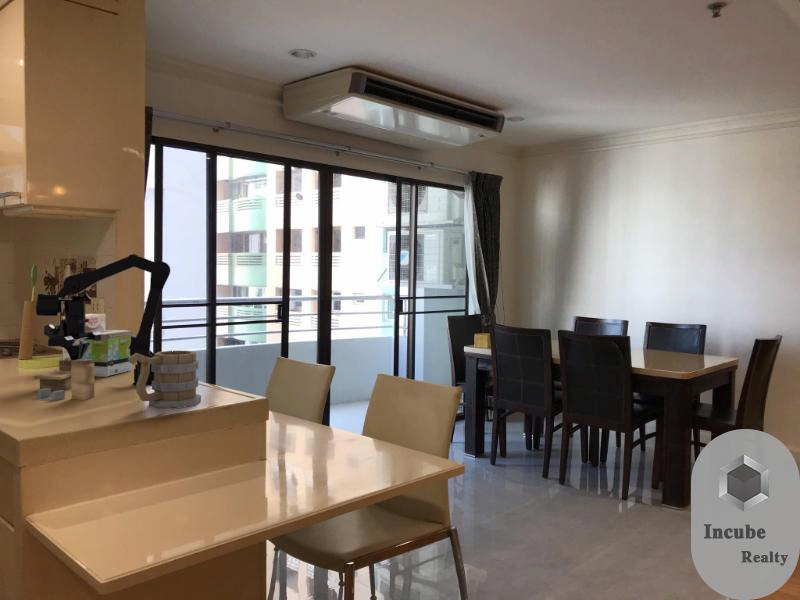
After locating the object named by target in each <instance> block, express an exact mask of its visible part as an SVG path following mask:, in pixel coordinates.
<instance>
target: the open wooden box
mask: <svg viewBox="0 0 800 600" xmlns="http://www.w3.org/2000/svg"><path fill="white" fill-rule="evenodd" d="M46 388H50V389H51V391H60V390H64V391H70V390H72V380H71V377H69V378H65V379H61V380H54V379H39V390H40V389H46Z"/></svg>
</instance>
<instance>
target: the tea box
mask: <svg viewBox="0 0 800 600" xmlns="http://www.w3.org/2000/svg"><path fill="white" fill-rule="evenodd" d="M98 332H99V333H100V334H101V340H98V341H95V340H86V343H91V344H90V345H89V346H88V348H87V350H86V351H85V353H84V355H83V357H82V359H94V377H103V378H107V377H109V376H113V375H117V374H122V373H127V371H128V372H131V371H132V370H133V364H131V363H130V362H129V360H128V358H129V357H131V356H130V349H128V348H129V346H130V344H131V336H132V335H133V330H124V329H122V330H121V329H106V330H104V331H98Z"/></svg>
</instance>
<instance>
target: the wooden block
mask: <svg viewBox="0 0 800 600" xmlns="http://www.w3.org/2000/svg"><path fill="white" fill-rule="evenodd" d="M71 380H72V389H71V400H80V401H81V400H82V401H84V400H88V399H92V398H95V376H94V359H78V360H72V361H71Z"/></svg>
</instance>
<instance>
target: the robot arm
mask: <svg viewBox="0 0 800 600" xmlns="http://www.w3.org/2000/svg"><path fill="white" fill-rule="evenodd" d="M132 268H136V269H137V268H138V269H140V270H142V271H145V272H147V273H150V281H149V282H150V283H149V284H150V286H149V292H148V294H147V299H146V304H145V306H144V309H143V310H144V311H143V315H142V319H141V323H140V326H139V330H138V332H137V334H136V335H135V334H132V336H131V344H130V346H129V348H128V349H130V356H132V355H134V354H135V353H139V354H141V355H143V356H146V357H149V358H153V357H154V354H155V353H154V352H153V350H151V342H152V340H151V339H152V330H153V326H154V322H155V319H156V314H157V311H158V307H159V304H160V303H159V302H160V299H161V294H162V291H163V289H164V287H165V285H166V283H167V281H168V279H169V276H170V275H171V267H170V265H169V264H168V262H165V261H162V260H161V261H156V262H155V261H154V260H153V261H152V260H151V259H147V258H144V257H141V256H139V255H138V254H136V253H132V254H129V255H128V256H126V257H124V258H121V259H119V260H116V261H114V262H111V263H109V264H107V265H104V266H102V267H99V268H97V269H94V270H90V271H86V272H79V273H77V274H72V275H68V276H67V277H66V278H65V279H64V280H63V287H62V288H61V289H60V290H59V291H58V293H57V294H52V293H51V294H48V293H47V294H46V293H38V294H37V299H36V305H35V312H36V316H37V317H59V315H60V314H62V313H63V312H64V316H65V319H63V318H62V319H61V320H60V324H59V325H53V324H47V325H44V326H43V327H44V328H43V335H44V336H46V337H47V346H48V347H61V348H63V347H64V348H65V349H66V350H67V352H68V354H69V356H70V359H71V360H78V359H82V357H83V355H84V353H85V351H86V350H87V348H88V346H89V345H90V344H91V343H86V340H95V341H98V340H101V334H100V333H99V332H98V331H86V322H89V319H86V316H85V314H86V302H92V301H93V298H92V297H90V295H89V294H88V293H84V294H83V295H78V294H81V293H82V292H84V291H86V290H88V289H90V287H92V286H94V285H96V284H97V283H98V282H100V281H103V280H105V279H108V278H110V277H113V276H115V275H117V274H119V273H122V272H124V271H127V270H129V269H132ZM76 294H77V295H76ZM70 295H72V298H67V297H69V296H70ZM62 298H63V299H62ZM66 298H67V299H66ZM134 366H135V367H134V369H133V383H132V385H134V384H137V381H138V378H139V375H140V370H141V362H139V361H136V364H135V365H134ZM153 380H154V372H152V364H150V372H149V376H148V379H147V382H146V386H152V381H153Z"/></svg>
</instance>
